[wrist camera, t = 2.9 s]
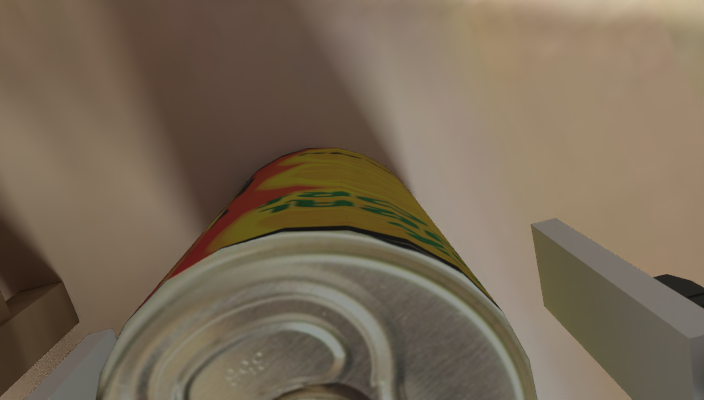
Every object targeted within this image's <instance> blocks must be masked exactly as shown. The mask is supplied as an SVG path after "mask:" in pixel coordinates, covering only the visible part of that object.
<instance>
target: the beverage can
mask: <svg viewBox="0 0 704 400" xmlns="http://www.w3.org/2000/svg"><path fill="white" fill-rule="evenodd" d="M96 400H537V395H536V390H535V385H534V380H533V376H532V371H531V366H530V361H529V358H528V356H527V355H526V353H525V351H524V349H523V347H522V346H521V344H520V342H519V340H518V338H517V337H516V335H515V333H514V331H513V329H512V328H511V326H510V324H509V322H508V320H507V319H506V317H505V315H504V313H503V312H502V310H501V309H500V308H499V307H498V305H497V304H496V303H495V301H494V300H493V299H492V298H491V296H490V295H489V294H488V292H487V291H486V290H485V289H484V287H483V286H482V285H481V283H480V282H479V281H478V279H477V278H476V277H475V276H474V274H473V273H472V272H471V270H470V269H469V268H468V267H467V265H466V264H465V263H464V261H463V260H462V259H461V257H460V256H459V255H458V254H457V252H456V251H455V250H454V248H453V247H452V246H451V245H450V243H449V242H448V241H447V239H446V238H445V237H444V235H443V234H442V233H441V232H440V230H439V229H438V228H437V226H436V225H435V224H434V223H433V221H432V220H431V219H430V217H429V216H428V215H427V214H426V212H425V211H424V210H423V208H422V207H421V206H420V204H419V203H418V202H417V201H416V199H415V198H414V197H413V195H412V194H411V193H410V192H409V190H408V189H407V188H406V186H405V185H404V184H403V183H402V182H401V181H400V180H399V179H398V178H396V177H395V176H394V175H393V174H392V173H391V172H390V171H389V170H388V169H387V168H386V167H384V166H382V165H381V164H379V163H377V162H375V161H374V160H372V159H370V158H368V157H366V156H365V155H362V154H358V153H355V152H351V151H347V150H343V149H339V148H308V149H304V150H301V151H297V152H294V153H290V154H287V155H283V156H281V157H279V158H278V159H276V160H274V161H272V162H271V163H269V164H267V165H266V166H264V167H262V168H261V169H259V170H258V171H257V172H256V173H255V174H254V175H253V176H252V177H251V178H250V179H249V180H248V181H247V182H246V183H245V185H244V186H243V187H242V188H241V189H240V190H239V191H238V192H237V193H236V194H235V196H234V197H233V198H232V199H231V200H230V202H229V203H228V204H227V205H226V206H225V207H224V209H223V210H222V211H221V212H220V213H219V214H218V216H217V217H216V218H215V219H214V220H213V221H212V223H211V224H210V225H209V226H208V227H207V228H206V230H205V231H204V232H203V233H202V234H201V235H200V237H199V238H198V239H197V240H196V241H195V242H194V244H193V245H192V246H191V247H190V248H189V249H188V251H187V252H186V253H185V254H184V255H183V257H182V258H181V259H180V260H179V261H178V262H177V264H176V265H175V266H174V267H173V268H172V269H171V271H170V272H169V273H168V274H167V275H166V276H165V278H164V279H163V280H162V281H161V282H160V283H159V285H158V286H157V287H156V288H155V289H154V290H153V292H152V293H151V294H150V295H149V296H148V297H147V299H146V300H145V301H144V302H143V303H142V304H141V306H140V307H139V308H138V309H137V310H136V311H135V313H134V314H133V315H132V316H131V317H130V319H129V320H128V321H127V322H126V323H125V325H124V327H123V329H122V331H121V333H120V335H119V337H118V339H117V341H116V343H115V345H114V346H113V348H112V350H111V352H110V354H109V356H108V358H107V360H106V362H105V364H104V366H103V368H102V370H101V372H100V375H99V381H98V388H97V394H96Z"/></svg>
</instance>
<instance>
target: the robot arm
mask: <svg viewBox="0 0 704 400" xmlns="http://www.w3.org/2000/svg"><path fill="white" fill-rule="evenodd" d="M531 228H532V235H533V241H534V247H535V253H536V259H537V265H538V271H539V277H540V283H541V289H542V295H543V301H544V306H545V307H546V308H547V309H548V310H549V311H550V312H551V313H552V315H553V316H554V317H555V318H556V319H557V320H558V321H559V322H560V323H561V324H562V325H563V326H564V327H565V328H566V329H567V330H568V332H569V333H570V334H571V335H572V336H573V337H574V338H575V339H576V340H577V341H578V342H579V343H580V344H581V345H582V346H583V347H584V349H585V350H586V351H587V352H588V353H589V354H590V355H591V356H592V357H593V358H594V359H595V360H596V361H597V362H598V363H599V364H600V366H601V367H602V368H603V369H604V370H605V371H606V372H607V373H608V374H609V375H610V376H611V377H612V378H613V379H614V380H615V381H616V382H617V384H618V385H619V386H620V387H621V388H622V389H623V390H624V391H625V392H626V393H627V394H628V395H629V396H630V397H631V398H632V399H633V400H704V288H703V287H701V286H700V285H698V284H696V283H694V282H692V281H690V280H686V279H683V278H679V277H675V276H672V275H668V274H665V275H661V276H657V277H651V276H649V275H648V274H646V273H645V272H643V271H641V270H640V269H638V268H636V267H635V266H633V265H631V264H630V263H628V262H627V261H625V260H623V259H622V258H620V257H618V256H617V255H615V254H614V253H612V252H610V251H609V250H607V249H605V248H604V247H602V246H600V245H599V244H597V243H596V242H594V241H592V240H591V239H589V238H587V237H586V236H584V235H582V234H581V233H579V232H578V231H576V230H574V229H573V228H571V227H569V226H568V225H566V224H565V223H563V222H561V221H560V220H558V219H556V218H554V219H550V220H546V221H542V222H538V223H534V224H531ZM116 341H117V339H116V336H115V334H114V332H113V329H112V328H111V329H107V330H103V331H99V332H95V333H91V334H88V335H87V336H86V337H85V338H84V339H83V340H82V341H81V342H80V343H79V344H78V345H77V346H76V347H75V348H74V349H73V350H72V351H71V352H70V354H69V355H68V356H67V357H66V358H65V359H64V360H63V361H62V362H61V363H60V364H59V365H58V366H57V367H56V368H55V369H54V370H53V371H52V372H51V373H50V374H49V375H48V376H47V377H46V378H45V379H44V380H43V381H42V382H41V383H40V384H39V385H38V386H37V387H36V388H35V389H34V391H33V392H32V393H31V394H30V395H29V396H28V397H27V398H26V399H25V400H96V394H97V388H98V381H99V375H100V372H101V370H102V368H103V366H104V364H105V362H106V360H107V358H108V356H109V354H110V352H111V350H112V348H113V346H114V345H115V343H116Z"/></svg>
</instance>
